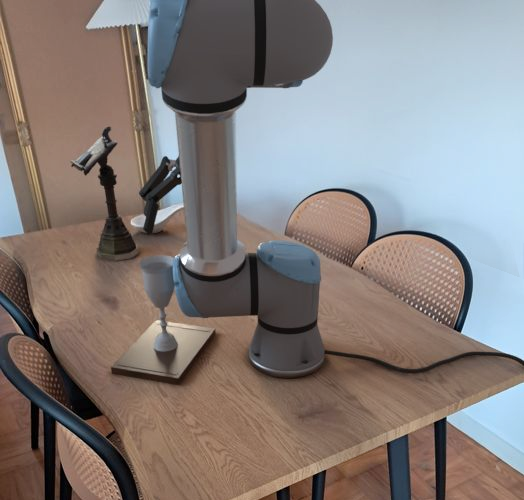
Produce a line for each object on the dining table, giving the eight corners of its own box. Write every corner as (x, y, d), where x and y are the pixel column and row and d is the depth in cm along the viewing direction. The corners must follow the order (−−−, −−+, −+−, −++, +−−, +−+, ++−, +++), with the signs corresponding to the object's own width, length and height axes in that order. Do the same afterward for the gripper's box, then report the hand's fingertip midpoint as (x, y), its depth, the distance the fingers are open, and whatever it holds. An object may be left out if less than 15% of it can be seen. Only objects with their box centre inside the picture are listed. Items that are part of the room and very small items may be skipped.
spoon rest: (136, 239, 171) (133, 216, 167) (128, 227, 180) (125, 205, 177) (208, 229, 179) (207, 207, 175) (197, 218, 188) (196, 197, 185)
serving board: (215, 334, 120) (215, 328, 119) (178, 385, 103) (178, 378, 102) (156, 325, 123) (156, 319, 122) (111, 373, 107) (110, 366, 106)
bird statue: (87, 268, 151) (63, 133, 133) (76, 253, 161) (52, 125, 142) (146, 257, 158) (131, 127, 140) (131, 243, 167) (116, 120, 149)
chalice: (175, 356, 109) (167, 271, 100) (143, 352, 110) (132, 268, 101) (187, 337, 115) (180, 256, 106) (156, 334, 117) (147, 253, 107)
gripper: (262, 153, 115) (242, 248, 111) (152, 147, 121) (130, 237, 117) (254, 131, 108) (233, 231, 104) (138, 126, 114) (113, 221, 110)
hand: (178, 234), depth 110 cm, fingers open, 13 cm apart
